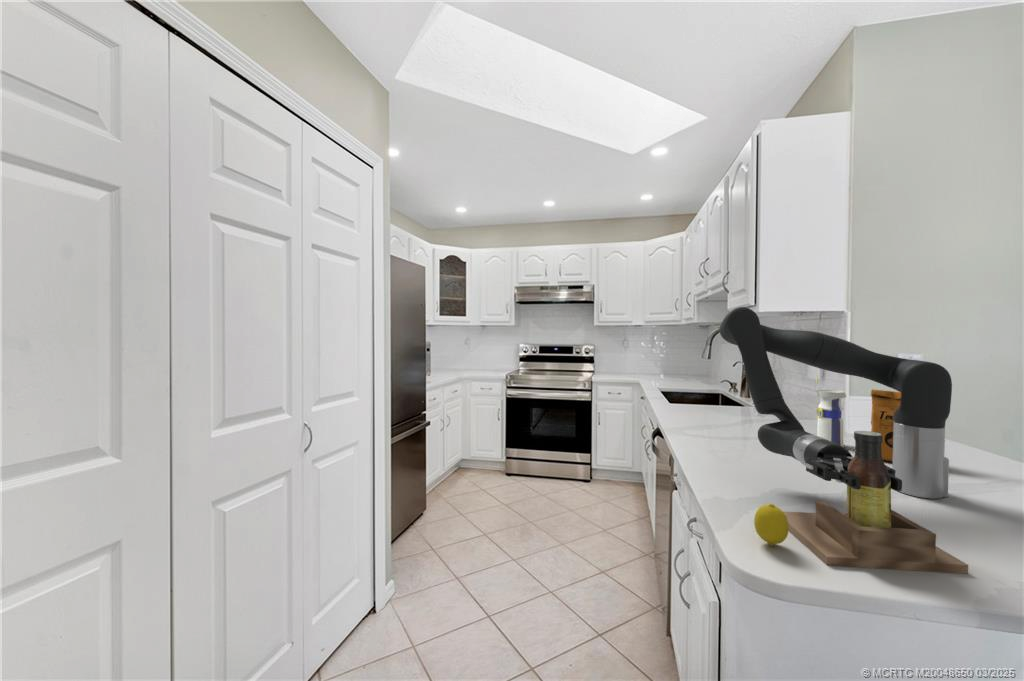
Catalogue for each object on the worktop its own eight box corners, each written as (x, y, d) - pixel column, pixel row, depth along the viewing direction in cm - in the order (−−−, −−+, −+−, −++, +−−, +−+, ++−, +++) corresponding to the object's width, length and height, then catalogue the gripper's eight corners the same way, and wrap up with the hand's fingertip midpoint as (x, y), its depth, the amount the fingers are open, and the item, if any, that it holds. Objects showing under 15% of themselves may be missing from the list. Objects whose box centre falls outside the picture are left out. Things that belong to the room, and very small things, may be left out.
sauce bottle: (899, 548, 73) (902, 438, 72) (859, 545, 74) (862, 437, 73) (875, 530, 79) (877, 429, 78) (838, 527, 80) (840, 428, 80)
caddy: (884, 523, 87) (884, 492, 86) (968, 573, 69) (969, 535, 69) (773, 517, 89) (774, 488, 89) (826, 565, 71) (827, 528, 71)
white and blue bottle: (823, 448, 140) (825, 376, 140) (810, 441, 149) (811, 373, 148) (850, 449, 139) (852, 376, 138) (835, 442, 147) (836, 373, 147)
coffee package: (923, 469, 119) (925, 394, 118) (867, 460, 128) (868, 390, 127) (922, 461, 126) (924, 391, 126) (869, 453, 135) (870, 387, 134)
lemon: (747, 538, 81) (748, 498, 80) (773, 537, 81) (774, 497, 81) (767, 553, 75) (768, 511, 75) (795, 552, 76) (796, 509, 75)
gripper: (786, 437, 91) (836, 463, 74) (856, 439, 89) (924, 466, 73) (785, 470, 91) (835, 503, 75) (855, 473, 90) (922, 507, 73)
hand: (878, 484), depth 74 cm, fingers closed on sauce bottle, 6 cm apart
